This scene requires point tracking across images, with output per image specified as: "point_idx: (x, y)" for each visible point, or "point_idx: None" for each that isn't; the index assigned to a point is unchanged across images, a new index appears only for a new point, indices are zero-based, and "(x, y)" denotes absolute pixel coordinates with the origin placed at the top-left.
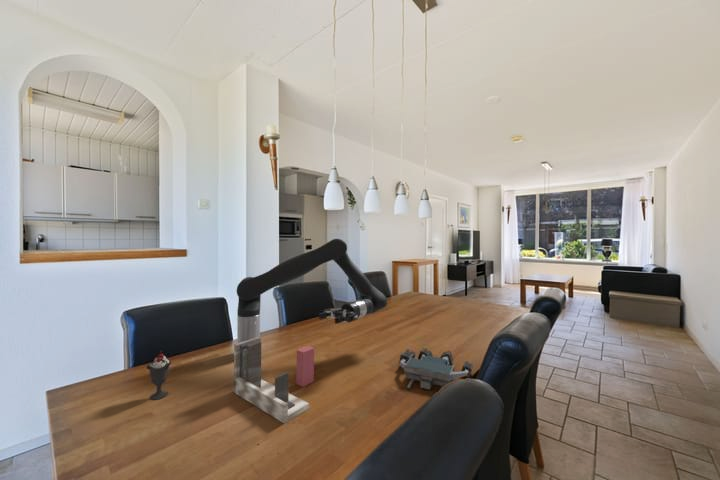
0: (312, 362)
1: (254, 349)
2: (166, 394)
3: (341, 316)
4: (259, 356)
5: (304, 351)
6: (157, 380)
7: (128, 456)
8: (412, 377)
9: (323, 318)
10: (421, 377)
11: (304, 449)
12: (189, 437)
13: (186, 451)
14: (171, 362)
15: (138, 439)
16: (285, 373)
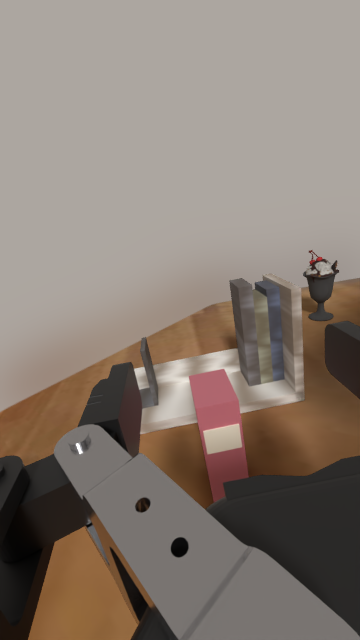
0: (203, 449)
1: (234, 294)
2: (317, 319)
3: (99, 409)
4: (240, 318)
5: (192, 379)
6: (309, 291)
7: (203, 317)
8: None
9: (354, 391)
10: None
11: (60, 401)
12: (194, 337)
13: (173, 336)
14: (325, 276)
15: (225, 317)
16: (143, 348)
